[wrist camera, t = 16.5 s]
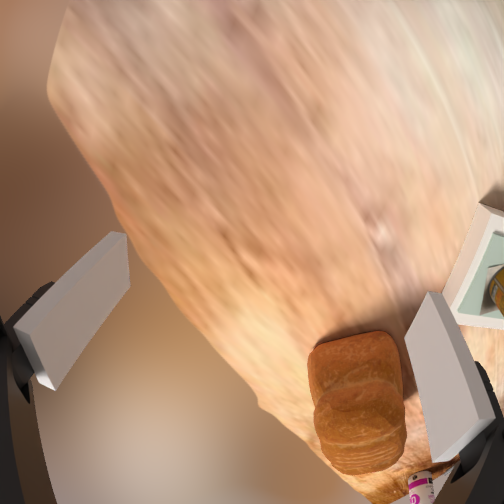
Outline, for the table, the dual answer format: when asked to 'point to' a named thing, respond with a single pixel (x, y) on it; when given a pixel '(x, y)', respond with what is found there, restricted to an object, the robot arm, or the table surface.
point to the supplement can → (421, 488)
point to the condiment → (493, 291)
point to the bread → (358, 402)
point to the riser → (476, 269)
